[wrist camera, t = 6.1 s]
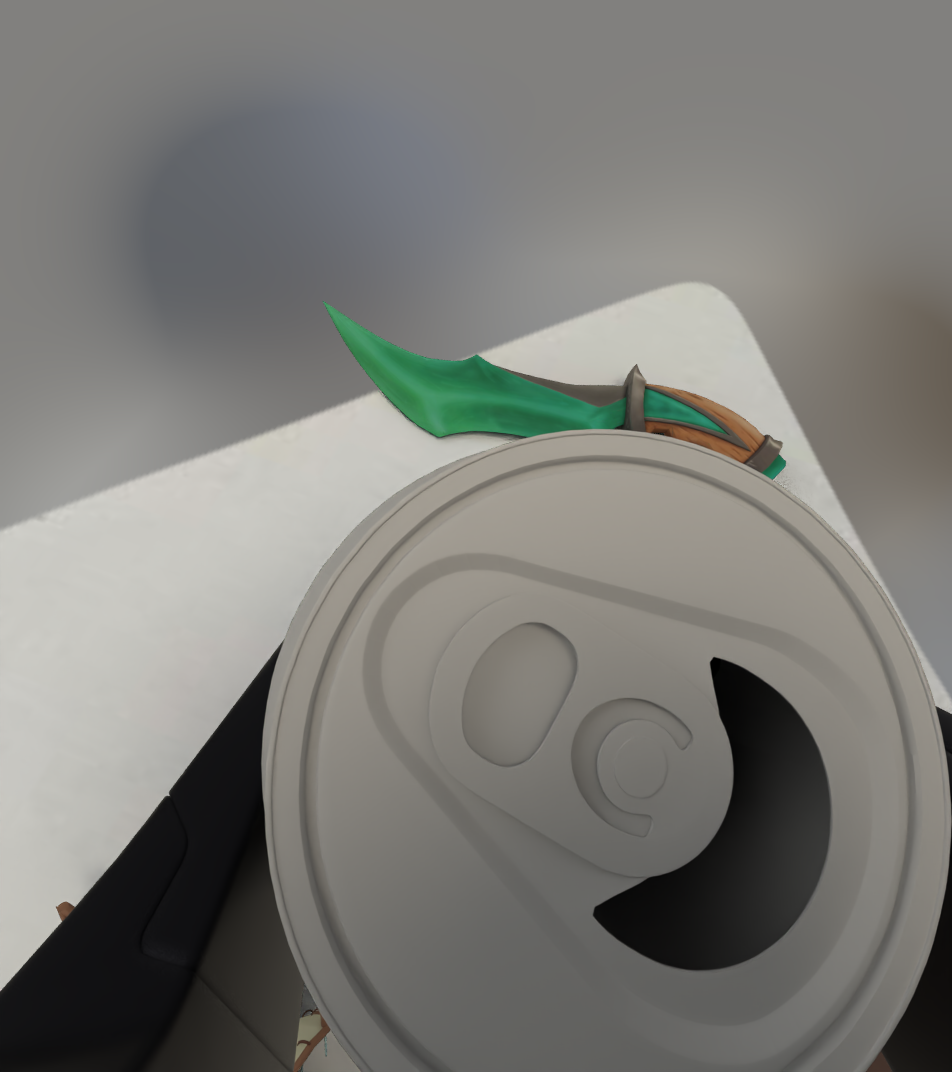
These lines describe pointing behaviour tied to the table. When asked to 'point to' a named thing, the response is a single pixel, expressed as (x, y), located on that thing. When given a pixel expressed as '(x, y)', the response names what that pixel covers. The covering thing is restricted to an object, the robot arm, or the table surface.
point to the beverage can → (604, 774)
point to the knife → (547, 402)
